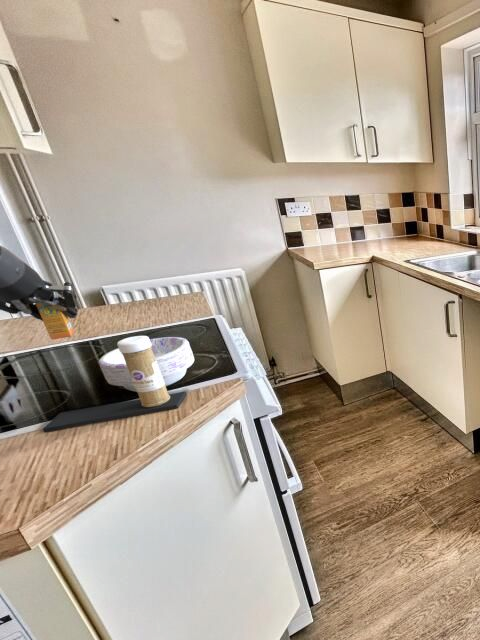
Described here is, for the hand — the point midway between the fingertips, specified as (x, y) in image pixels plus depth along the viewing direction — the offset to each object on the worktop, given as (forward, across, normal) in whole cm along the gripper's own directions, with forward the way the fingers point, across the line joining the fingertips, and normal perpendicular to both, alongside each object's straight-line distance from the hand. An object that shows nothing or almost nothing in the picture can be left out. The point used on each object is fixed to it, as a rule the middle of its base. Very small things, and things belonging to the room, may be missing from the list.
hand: (60, 315), depth 89 cm
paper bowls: (+5, -15, +17) cm, 23 cm away
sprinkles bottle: (-5, -19, +25) cm, 32 cm away
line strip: (-4, -13, +26) cm, 29 cm away
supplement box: (+2, 0, +4) cm, 5 cm away
